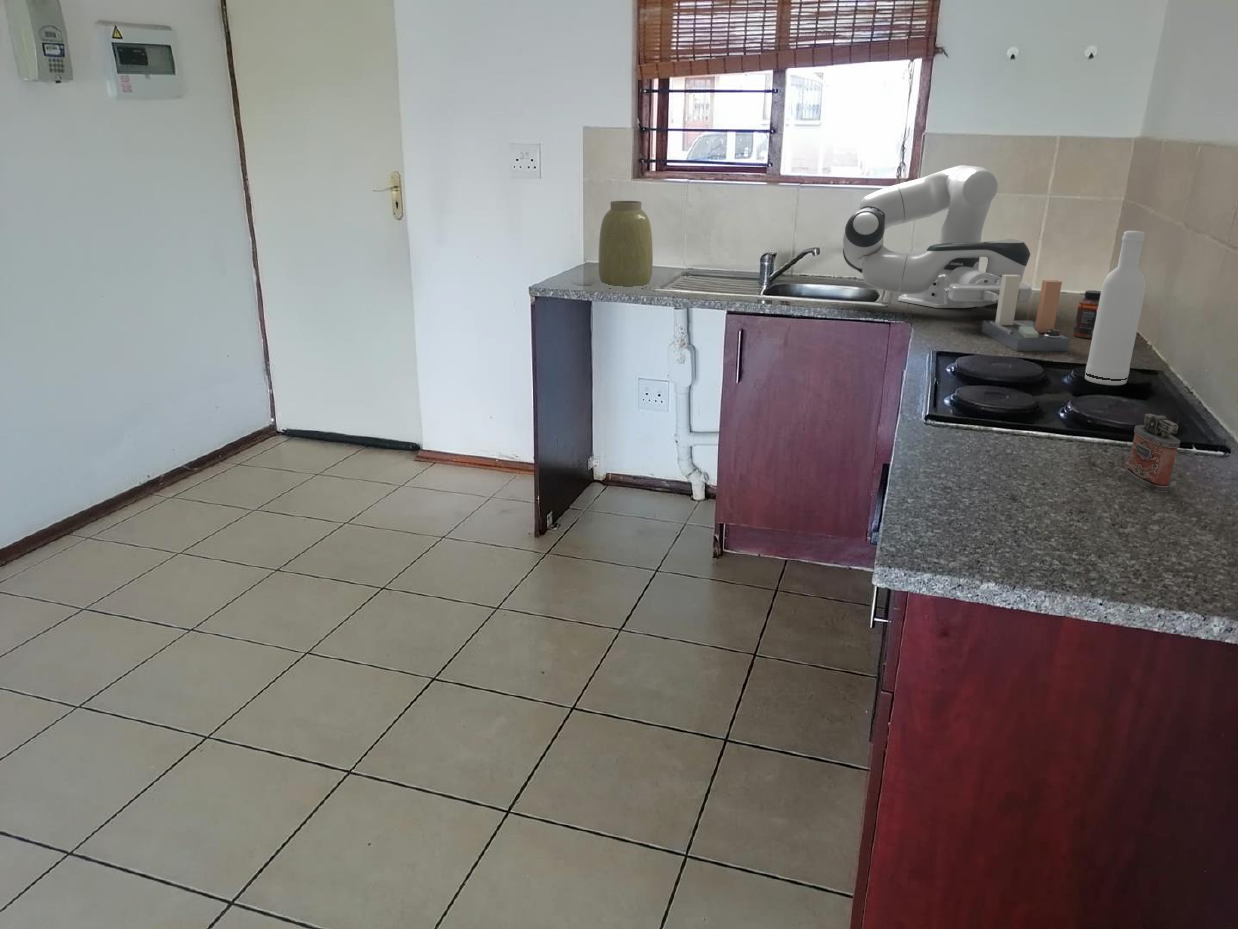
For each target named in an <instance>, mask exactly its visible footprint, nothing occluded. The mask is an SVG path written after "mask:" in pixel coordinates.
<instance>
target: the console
mask: <svg viewBox="0 0 1238 929" xmlns="http://www.w3.org/2000/svg"><path fill="white" fill-rule="evenodd" d="M995 321H996V320H986V319H985V320H983V322H982V328H981V333H982V334H985V335H987V336H989V337H990V338H992V339H994V340H996V341H997V342H999V343H1001V344H1003V345H1005V346H1006V347H1008V348H1010V349H1011V350H1014V351H1015V352H1068V349H1069V344H1070V338H1069V337H1067V336H1065V335H1063V334H1061V330H1060V329H1055V328H1054V329H1048V330H1046V332H1038V331H1037V332H1038V333H1039V335H1038V338H1025V337H1024V336H1023V335H1022V334H1021V333H1020V332H1019V331H1018V330H1019V327H1033V328H1034V329H1035V323H1036V320H1033V321H1032V320H1014V322H1013V325H999V324H997V323H995Z"/></svg>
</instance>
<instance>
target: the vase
mask: <svg viewBox="0 0 1238 929" xmlns="http://www.w3.org/2000/svg"><path fill="white" fill-rule="evenodd" d="M652 235H653V234H652V228H651V223H650V219H649V217H648V215H647V214H646V212H645V211H644V210H643V209H642V201H637V200H614V201H610V209H609V210H608V211H607V212H606V213H605V214H604V216H603V218H602V220H601V225H600V231H599V238H598V239H599V241H598V276H599V279H600V282H602V283H605V284H608V285H613V286H623V287H633V286H644V285H647V284H648V285H649V284H650V282H651V280H652V276H653V262H654V261H653V260H654V259H653V256H654V255H653V254H654V253H653V252H654V250H653V236H652ZM602 283H601V284H602ZM645 288H646V289H647V288H648V286H647V287H645ZM609 289H611V288H609ZM641 289H644V288H641Z"/></svg>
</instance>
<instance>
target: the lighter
mask: <svg viewBox="0 0 1238 929" xmlns="http://www.w3.org/2000/svg"><path fill="white" fill-rule="evenodd" d="M1133 428H1134V430H1133V432H1134V436H1133V441H1132V446H1131V451H1130V455H1129V459H1128V463H1127V464H1128V465H1127V466H1126V467H1125V470H1124V475H1125V476H1126V477H1127V478H1129V480H1132V481H1133V482H1135V483H1136V484H1138V485H1140V486H1142V487H1144V488H1146V489H1148V490H1150V491H1154V492H1158V493H1168V492H1169V491H1170V488H1171V483H1170V481H1171V477H1172V473H1173V468H1174V464H1175V460H1176V456H1177V452H1178V448H1179V447H1180V446H1181V445H1180V444H1181V440H1180V439H1179V438H1177V437H1175V436H1174V435H1172V434H1177V433H1178V429H1179V425H1178V423H1175V422H1173V421H1170V420H1168V418H1167V417H1166V415H1156V414H1153V413H1145V415H1144V424H1138V425H1135V426H1134V427H1133Z"/></svg>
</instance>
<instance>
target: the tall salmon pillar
mask: <svg viewBox="0 0 1238 929" xmlns="http://www.w3.org/2000/svg"><path fill="white" fill-rule="evenodd" d="M1062 285H1063V281H1061V280H1057V279H1050V280H1049V279H1047V280H1046V279H1043V280H1042V282H1041V288H1040V294H1039V300H1038V305H1037V311H1036V318H1035V321H1036V323H1035V330H1036V331H1038V332H1046V330H1048V329H1055V324H1056V319H1057V312H1058V307H1059V301H1060V295H1061V292H1062V291H1061V289H1062Z"/></svg>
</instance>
